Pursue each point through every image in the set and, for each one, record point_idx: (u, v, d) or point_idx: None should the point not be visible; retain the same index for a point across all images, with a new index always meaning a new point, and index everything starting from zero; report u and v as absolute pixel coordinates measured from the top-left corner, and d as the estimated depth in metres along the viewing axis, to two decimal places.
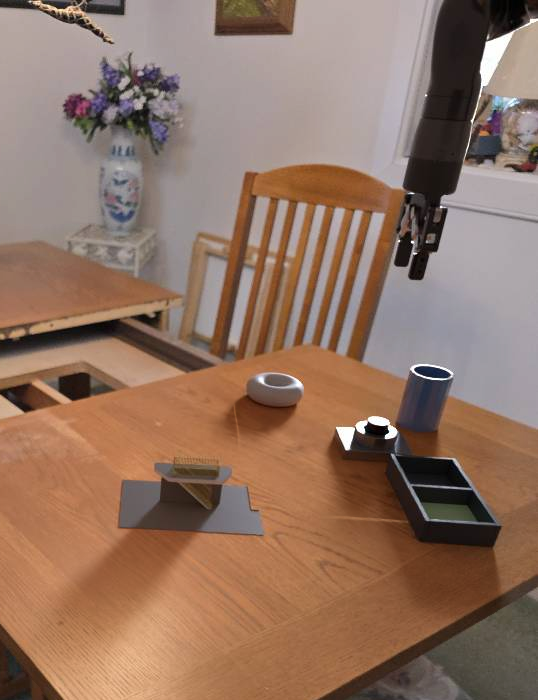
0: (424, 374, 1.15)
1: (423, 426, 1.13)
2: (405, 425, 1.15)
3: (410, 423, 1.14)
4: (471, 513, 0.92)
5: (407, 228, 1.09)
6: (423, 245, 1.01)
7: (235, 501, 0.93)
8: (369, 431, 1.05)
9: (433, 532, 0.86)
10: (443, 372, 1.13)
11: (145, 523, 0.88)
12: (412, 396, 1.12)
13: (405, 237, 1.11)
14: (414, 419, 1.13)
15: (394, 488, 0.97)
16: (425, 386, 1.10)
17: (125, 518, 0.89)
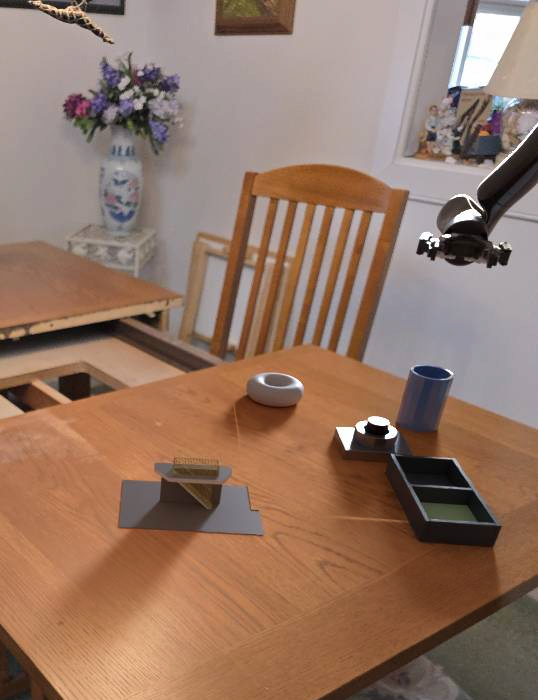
0: (424, 374, 1.15)
1: (423, 426, 1.13)
2: (405, 425, 1.15)
3: (410, 423, 1.14)
4: (471, 513, 0.92)
5: (479, 257, 1.16)
6: (416, 251, 1.18)
7: (235, 501, 0.93)
8: (369, 431, 1.05)
9: (433, 532, 0.86)
10: (443, 372, 1.13)
11: (145, 523, 0.88)
12: (412, 396, 1.12)
13: None
14: (414, 419, 1.13)
15: (394, 488, 0.97)
16: (425, 386, 1.10)
17: (125, 518, 0.89)
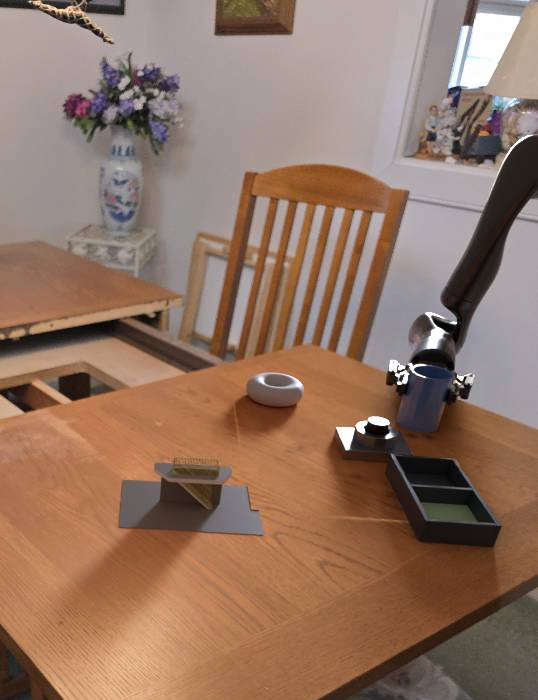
0: (424, 374, 1.15)
1: (423, 426, 1.13)
2: (405, 425, 1.15)
3: (410, 424, 1.14)
4: (471, 513, 0.92)
5: None
6: (386, 381, 1.18)
7: (235, 501, 0.93)
8: (369, 431, 1.05)
9: (433, 532, 0.86)
10: (442, 372, 1.13)
11: (145, 523, 0.88)
12: (412, 396, 1.12)
13: None
14: (414, 419, 1.13)
15: (394, 488, 0.97)
16: (425, 386, 1.10)
17: (125, 518, 0.89)
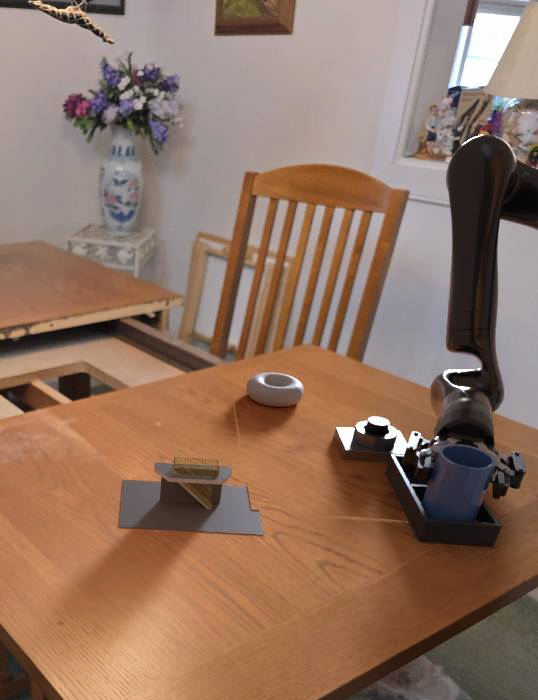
0: (455, 456, 0.89)
1: None
2: None
3: None
4: None
5: None
6: (402, 460, 0.92)
7: (235, 501, 0.93)
8: (369, 431, 1.05)
9: (433, 532, 0.86)
10: (480, 455, 0.87)
11: (145, 523, 0.88)
12: (441, 487, 0.86)
13: None
14: (443, 516, 0.87)
15: (394, 488, 0.97)
16: (458, 476, 0.84)
17: (125, 518, 0.89)
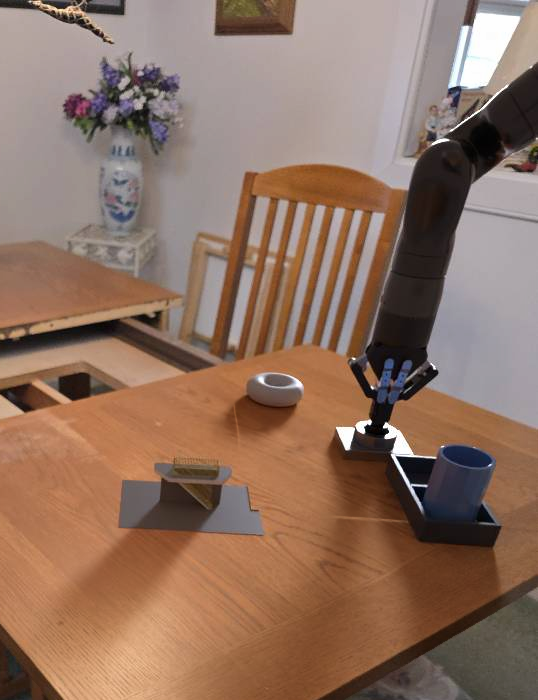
0: (455, 456, 0.89)
1: None
2: None
3: None
4: None
5: (390, 379, 1.02)
6: None
7: (235, 501, 0.93)
8: None
9: (433, 532, 0.86)
10: (480, 455, 0.87)
11: (145, 523, 0.88)
12: (441, 487, 0.86)
13: (387, 393, 1.03)
14: (443, 516, 0.87)
15: (394, 488, 0.97)
16: (458, 476, 0.84)
17: (125, 518, 0.89)
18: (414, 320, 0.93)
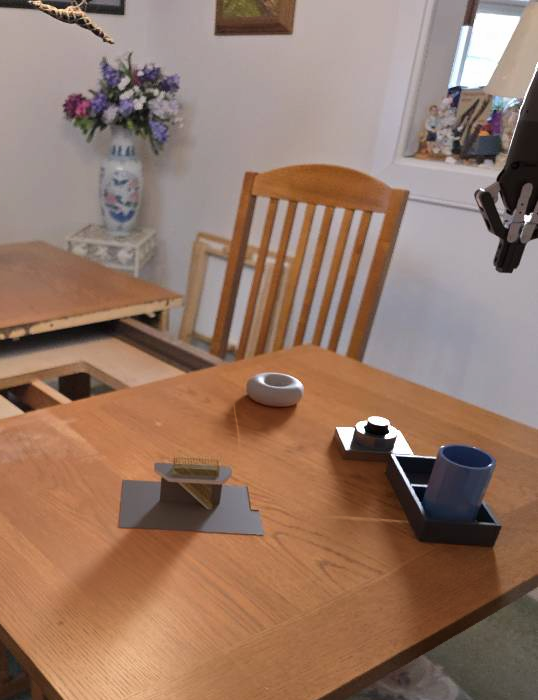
0: (455, 456, 0.89)
1: None
2: None
3: None
4: None
5: None
6: (489, 224, 0.90)
7: (235, 501, 0.93)
8: (369, 431, 1.05)
9: (433, 532, 0.86)
10: (480, 455, 0.87)
11: (145, 523, 0.88)
12: (441, 487, 0.86)
13: (517, 232, 0.90)
14: (443, 516, 0.87)
15: (394, 488, 0.97)
16: (458, 476, 0.84)
17: (125, 518, 0.89)
18: None
